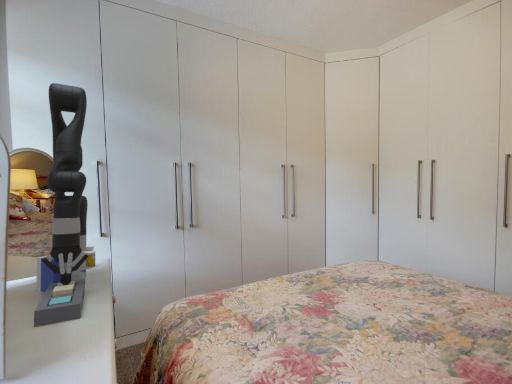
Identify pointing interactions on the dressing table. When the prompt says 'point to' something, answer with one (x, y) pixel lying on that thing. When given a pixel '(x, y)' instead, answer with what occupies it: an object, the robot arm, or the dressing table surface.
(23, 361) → the dressing table surface
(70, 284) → the grey key
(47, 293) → the grey board with slots
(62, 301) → the teal key
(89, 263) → the supplement bottle
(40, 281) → the walkman
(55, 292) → the sand key
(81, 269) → the skincare box
